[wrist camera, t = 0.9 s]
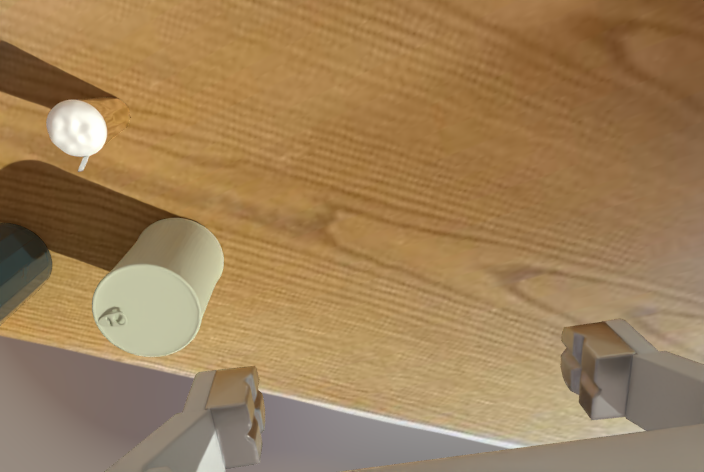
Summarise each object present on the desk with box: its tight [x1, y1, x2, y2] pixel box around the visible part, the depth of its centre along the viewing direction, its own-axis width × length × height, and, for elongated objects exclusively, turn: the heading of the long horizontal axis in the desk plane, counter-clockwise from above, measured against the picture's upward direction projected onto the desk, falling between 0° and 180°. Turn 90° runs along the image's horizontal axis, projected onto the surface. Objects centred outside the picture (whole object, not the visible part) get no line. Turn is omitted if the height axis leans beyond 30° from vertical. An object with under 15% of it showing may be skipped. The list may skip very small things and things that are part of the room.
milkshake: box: [46, 97, 131, 172], centre depth 45 cm, size 5×5×10 cm
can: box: [92, 218, 224, 357], centre depth 50 cm, size 9×9×12 cm
